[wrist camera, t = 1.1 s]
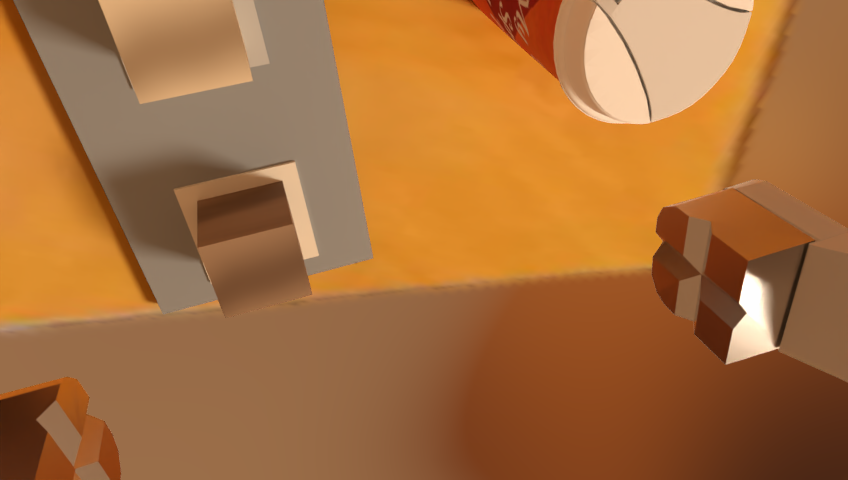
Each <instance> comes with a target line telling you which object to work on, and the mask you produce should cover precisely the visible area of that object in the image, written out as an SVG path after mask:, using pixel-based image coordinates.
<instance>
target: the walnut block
mask: <svg viewBox="0 0 848 480" xmlns="http://www.w3.org/2000/svg"><path fill="white" fill-rule="evenodd" d="M197 248H198V251H199V253H200V256H201V258H202V261H203V263H204V266H205V268H206V271H207V273H208V276H209V278H210V281H211V283H212V286H213V288H214V291H215V293H216V296H217V298H218V301H219V303H220V306H221V308H222V311H223V313H224V316H225V318H228V317H232V316H235V315H239V314H243V313H247V312H250V311H254V310H258V309H261V308H265V307H269V306H272V305H276V304H280V303H283V302H287V301H291V300H294V299H298V298H302V297H305V296H309V295H312V291H311V287H310V283H309V279H308V275H307V271H306V267H305V263H304V259H303V255H302V251H301V247H300V243H299V239H298V236H297V232H296V229H295V225H294V221H293V218H292V214H291V210H290V207H289V203H288V200H287V196H286V192H285V189H284V185H283V181H279V182H275V183H271V184H266V185H262V186H258V187H254V188H250V189H245V190H241V191H237V192H233V193H229V194H224V195H220V196H216V197H212V198H208V199H203V200H199V201H197Z"/></svg>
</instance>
